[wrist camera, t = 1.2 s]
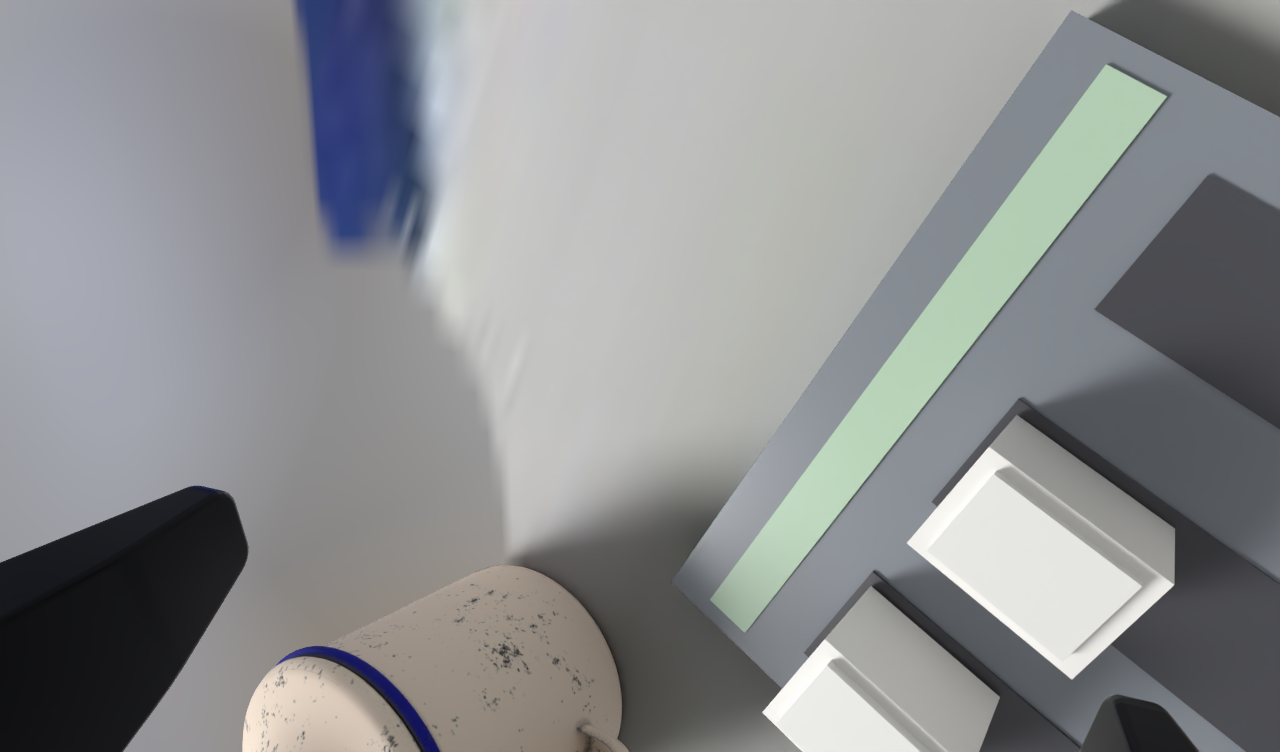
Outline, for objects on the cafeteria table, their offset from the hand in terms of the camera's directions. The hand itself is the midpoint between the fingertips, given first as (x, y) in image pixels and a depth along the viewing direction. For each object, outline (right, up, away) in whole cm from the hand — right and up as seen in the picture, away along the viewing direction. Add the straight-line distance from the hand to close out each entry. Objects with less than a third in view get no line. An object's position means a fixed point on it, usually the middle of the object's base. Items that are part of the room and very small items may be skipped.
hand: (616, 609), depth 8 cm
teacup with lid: (-2, -9, +23) cm, 25 cm away
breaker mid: (+10, -1, +11) cm, 15 cm away
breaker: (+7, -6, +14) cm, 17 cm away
